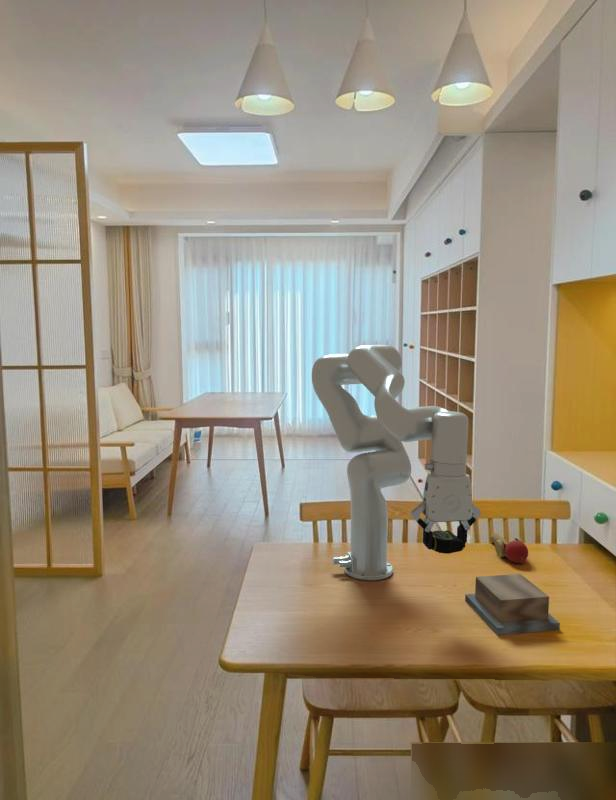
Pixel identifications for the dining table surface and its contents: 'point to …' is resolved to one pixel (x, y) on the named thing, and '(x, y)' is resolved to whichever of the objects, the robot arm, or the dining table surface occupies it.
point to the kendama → (510, 548)
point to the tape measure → (446, 542)
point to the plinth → (511, 605)
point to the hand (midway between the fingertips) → (444, 545)
